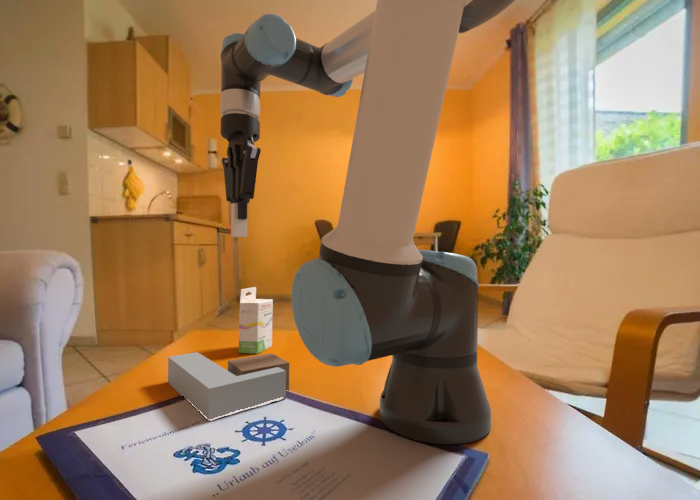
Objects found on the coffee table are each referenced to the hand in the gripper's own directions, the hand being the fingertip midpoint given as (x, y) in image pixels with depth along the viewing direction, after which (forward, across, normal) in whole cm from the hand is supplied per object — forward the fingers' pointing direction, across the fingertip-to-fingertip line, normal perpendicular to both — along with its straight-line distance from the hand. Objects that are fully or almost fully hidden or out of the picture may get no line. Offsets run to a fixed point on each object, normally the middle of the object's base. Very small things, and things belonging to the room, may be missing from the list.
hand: (239, 236), depth 72 cm
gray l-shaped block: (+26, -9, +7) cm, 29 cm away
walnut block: (+27, -13, +2) cm, 30 cm away
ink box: (+27, +12, -10) cm, 31 cm away
